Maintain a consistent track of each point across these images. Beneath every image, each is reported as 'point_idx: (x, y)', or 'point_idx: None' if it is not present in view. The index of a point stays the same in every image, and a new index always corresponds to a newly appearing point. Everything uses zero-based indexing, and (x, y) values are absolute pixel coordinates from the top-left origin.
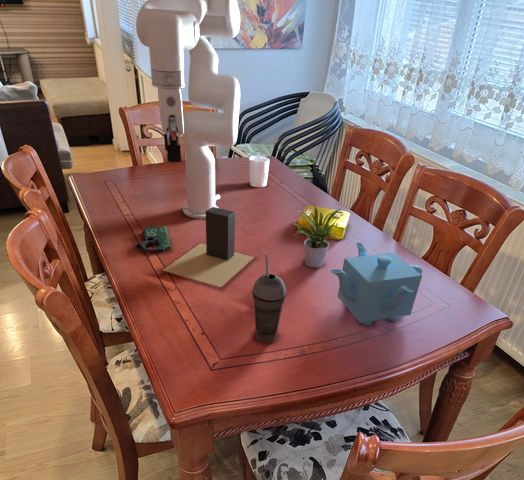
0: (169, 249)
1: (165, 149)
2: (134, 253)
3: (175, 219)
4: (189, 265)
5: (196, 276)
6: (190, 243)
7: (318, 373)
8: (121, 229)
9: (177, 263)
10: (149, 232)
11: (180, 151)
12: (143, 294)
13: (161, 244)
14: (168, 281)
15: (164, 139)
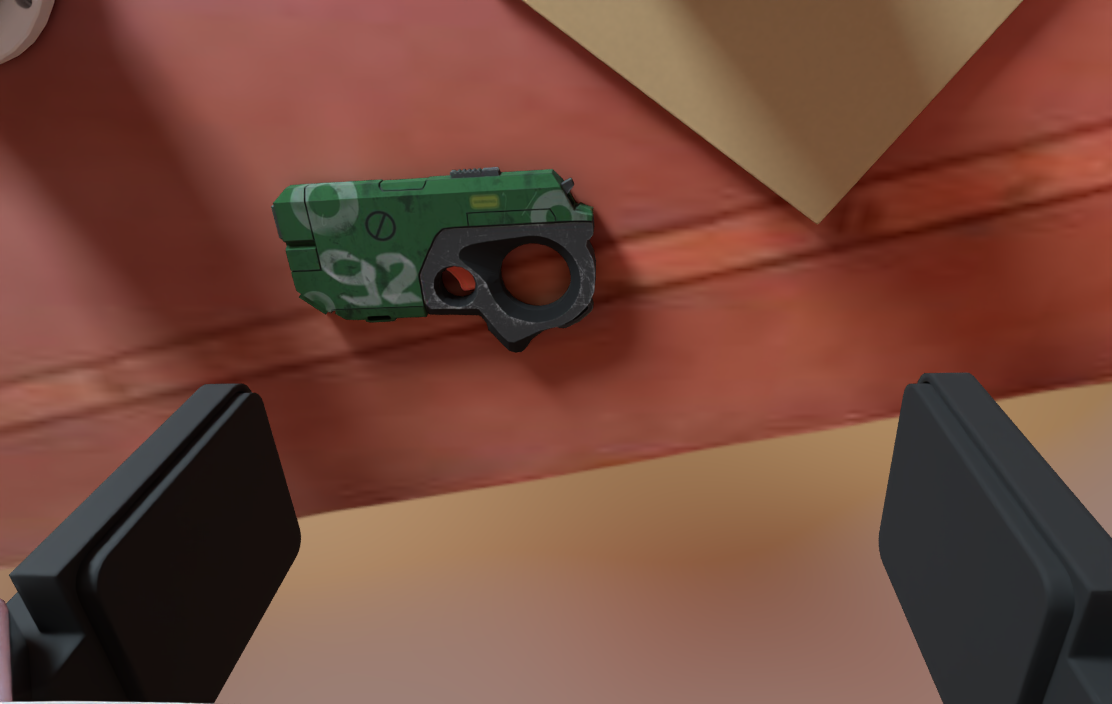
0: (570, 179)
1: (289, 552)
2: (578, 353)
3: (104, 124)
4: (792, 63)
5: (950, 25)
6: (456, 38)
7: None
8: (299, 411)
9: (752, 137)
10: (371, 289)
11: (1058, 481)
12: (1025, 314)
13: (528, 226)
14: (929, 192)
15: (212, 687)
